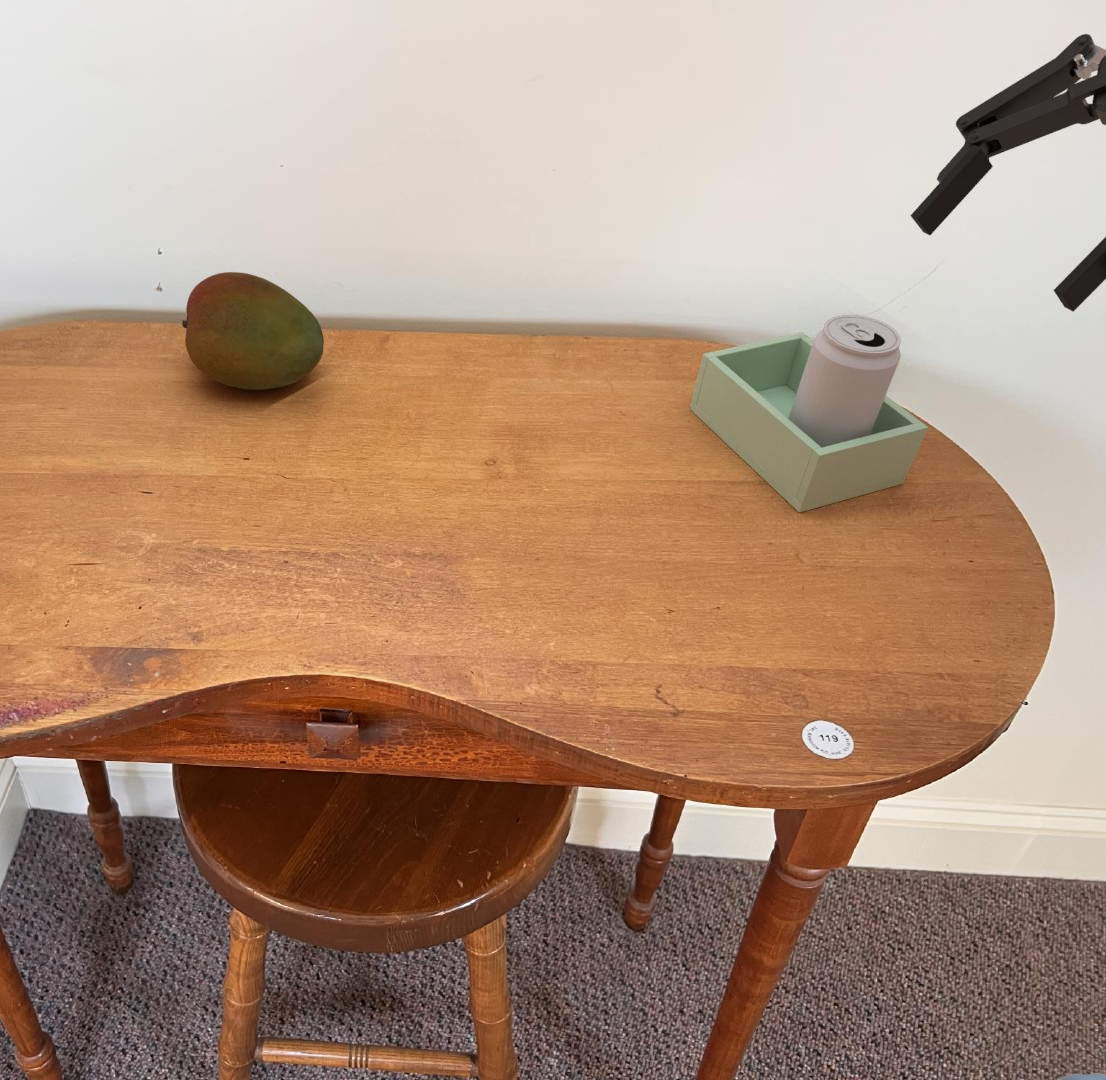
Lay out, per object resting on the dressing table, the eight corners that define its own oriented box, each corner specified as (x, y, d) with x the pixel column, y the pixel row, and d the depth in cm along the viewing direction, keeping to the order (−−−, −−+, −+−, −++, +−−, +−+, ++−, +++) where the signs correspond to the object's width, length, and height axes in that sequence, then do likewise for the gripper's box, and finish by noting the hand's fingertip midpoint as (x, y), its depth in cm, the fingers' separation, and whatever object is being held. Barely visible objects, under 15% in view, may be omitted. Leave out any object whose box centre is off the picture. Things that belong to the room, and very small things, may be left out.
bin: (903, 484, 86) (928, 427, 82) (798, 513, 83) (820, 455, 79) (785, 386, 97) (802, 331, 93) (689, 408, 94) (702, 353, 90)
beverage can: (817, 488, 84) (864, 362, 76) (762, 446, 88) (801, 322, 80) (874, 467, 86) (925, 342, 78) (817, 426, 90) (861, 304, 82)
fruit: (191, 347, 100) (178, 252, 94) (320, 340, 102) (316, 246, 95) (188, 416, 92) (174, 316, 85) (328, 408, 93) (325, 309, 86)
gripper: (1428, 91, 65) (1148, 361, 71) (1086, -3, 82) (887, 221, 89) (1420, 17, 60) (1120, 314, 67) (1059, -66, 77) (851, 176, 84)
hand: (986, 261), depth 78 cm, fingers open, 13 cm apart
